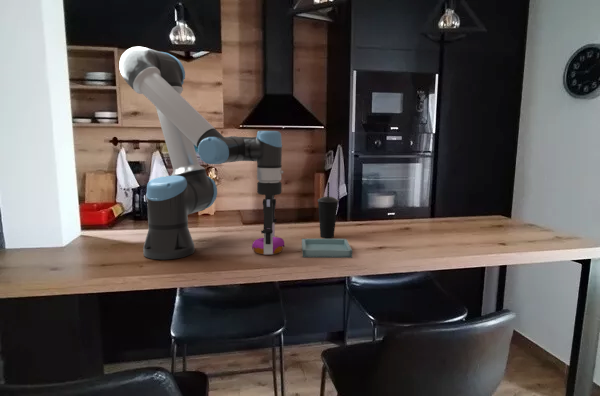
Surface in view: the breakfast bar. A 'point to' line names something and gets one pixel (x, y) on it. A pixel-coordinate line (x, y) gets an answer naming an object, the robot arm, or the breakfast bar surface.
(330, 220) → the drinking cup
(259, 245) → the donut
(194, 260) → the breakfast bar surface
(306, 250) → the tray
